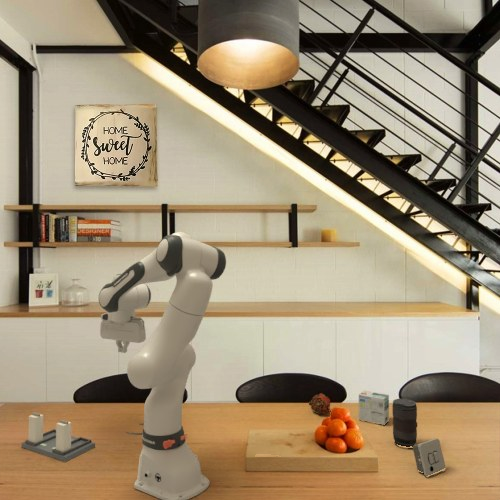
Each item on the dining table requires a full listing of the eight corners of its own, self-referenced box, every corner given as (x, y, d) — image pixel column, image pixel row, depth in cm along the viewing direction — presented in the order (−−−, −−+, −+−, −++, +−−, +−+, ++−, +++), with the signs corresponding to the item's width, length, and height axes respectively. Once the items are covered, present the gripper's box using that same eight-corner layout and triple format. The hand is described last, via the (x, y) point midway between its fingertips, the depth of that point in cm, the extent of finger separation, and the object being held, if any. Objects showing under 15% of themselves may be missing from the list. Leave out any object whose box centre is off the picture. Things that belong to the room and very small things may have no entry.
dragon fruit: (321, 422, 172) (316, 415, 184) (337, 409, 173) (331, 403, 185) (308, 404, 174) (304, 399, 185) (325, 392, 174) (320, 387, 186)
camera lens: (396, 437, 154) (396, 396, 154) (419, 443, 149) (419, 401, 150) (389, 445, 148) (389, 402, 148) (413, 452, 143) (413, 407, 143)
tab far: (42, 441, 146) (43, 413, 146) (35, 444, 143) (35, 415, 143) (36, 439, 147) (36, 411, 148) (28, 442, 145) (28, 414, 145)
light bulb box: (389, 421, 170) (389, 394, 170) (385, 426, 165) (385, 398, 165) (363, 415, 176) (363, 389, 176) (358, 420, 170) (358, 393, 170)
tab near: (70, 450, 139) (71, 420, 139) (63, 453, 137) (63, 423, 137) (63, 447, 141) (64, 418, 141) (55, 451, 138) (56, 421, 138)
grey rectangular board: (95, 447, 145) (95, 440, 145) (65, 461, 135) (65, 454, 135) (52, 434, 155) (52, 428, 156) (21, 447, 145) (21, 440, 145)
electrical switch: (427, 479, 126) (424, 446, 126) (412, 473, 130) (410, 441, 131) (446, 471, 130) (444, 439, 131) (432, 465, 135) (429, 435, 136)
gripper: (149, 316, 159) (149, 353, 159) (109, 313, 169) (109, 347, 169) (138, 318, 154) (137, 357, 154) (97, 315, 163) (97, 351, 163)
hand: (122, 352), depth 161 cm, fingers closed
